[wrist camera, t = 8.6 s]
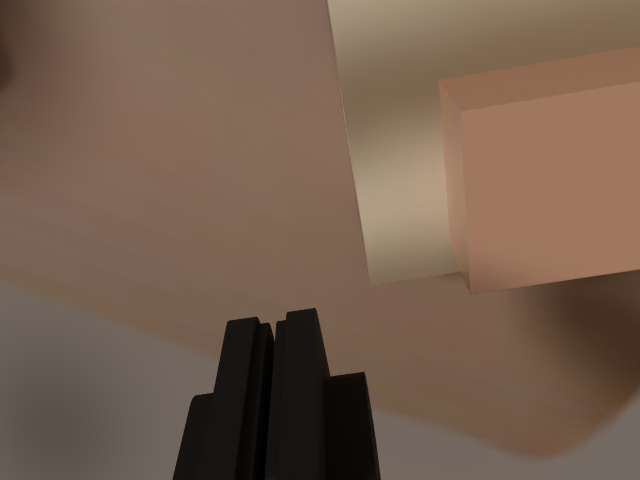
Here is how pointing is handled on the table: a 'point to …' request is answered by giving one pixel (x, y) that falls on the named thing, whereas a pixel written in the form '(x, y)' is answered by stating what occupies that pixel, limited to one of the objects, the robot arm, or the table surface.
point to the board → (438, 101)
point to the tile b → (544, 170)
